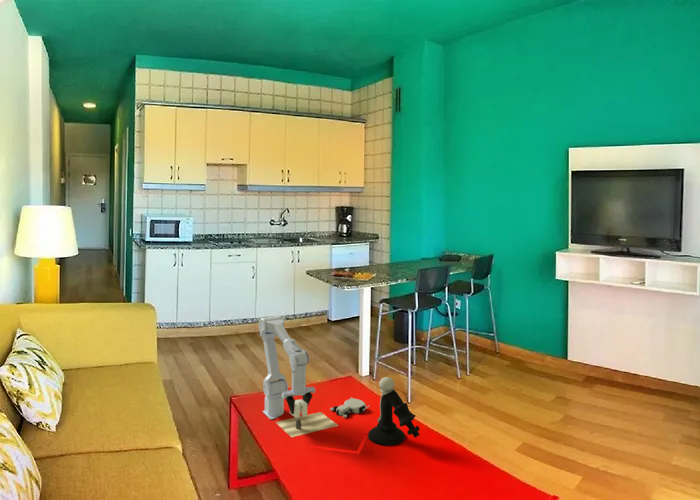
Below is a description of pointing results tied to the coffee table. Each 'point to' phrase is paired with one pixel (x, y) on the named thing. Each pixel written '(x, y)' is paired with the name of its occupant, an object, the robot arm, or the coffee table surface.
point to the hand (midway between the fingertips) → (298, 411)
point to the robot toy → (350, 407)
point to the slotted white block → (300, 408)
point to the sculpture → (386, 428)
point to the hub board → (306, 424)
